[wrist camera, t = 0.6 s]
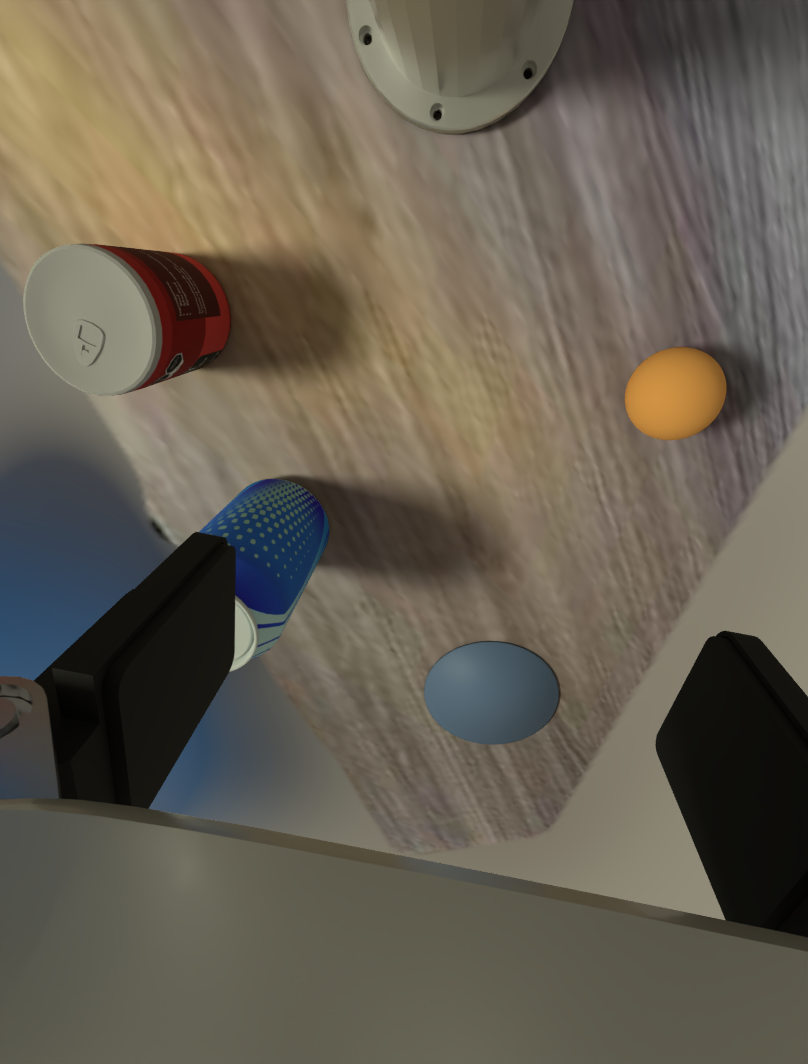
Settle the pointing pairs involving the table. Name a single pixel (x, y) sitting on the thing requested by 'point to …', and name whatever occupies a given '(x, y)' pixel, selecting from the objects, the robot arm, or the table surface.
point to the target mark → (491, 692)
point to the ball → (675, 393)
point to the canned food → (123, 316)
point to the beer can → (270, 558)
